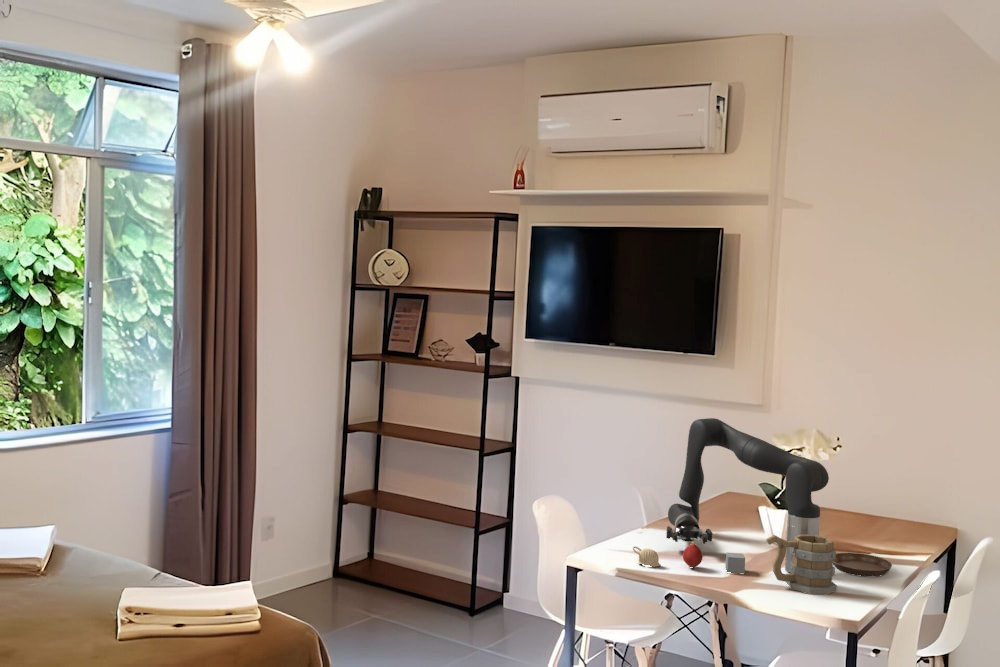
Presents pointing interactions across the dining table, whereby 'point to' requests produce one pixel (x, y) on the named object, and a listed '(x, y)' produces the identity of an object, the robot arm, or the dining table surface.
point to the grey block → (735, 562)
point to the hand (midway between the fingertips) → (690, 539)
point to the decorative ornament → (647, 557)
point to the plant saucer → (861, 564)
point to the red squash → (692, 555)
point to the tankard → (807, 563)
